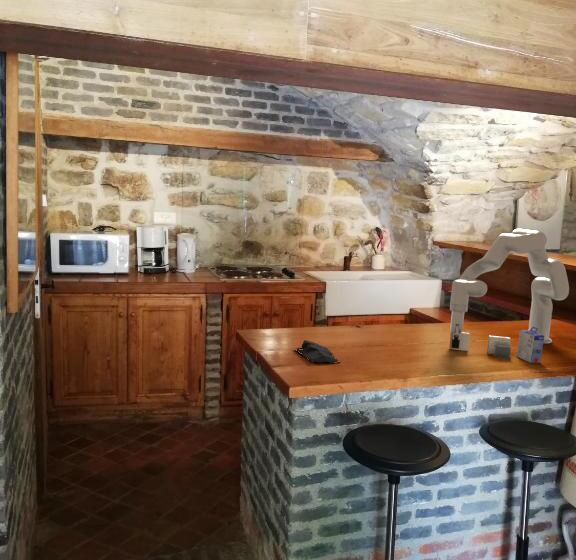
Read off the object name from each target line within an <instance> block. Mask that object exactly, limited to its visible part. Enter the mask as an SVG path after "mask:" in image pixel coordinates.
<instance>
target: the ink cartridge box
mask: <svg viewBox="0 0 576 560" xmlns="http://www.w3.org/2000/svg"><path fill="white" fill-rule="evenodd" d="M532 329H536V331H534V330H532ZM537 330H538V328H536V327H532V328H531V329H530V330H528V329H520V330H519V334H518V335H519V336H518V341H517V342H518V343H517V348H516V354H515V355H516V356H515V357H517V358H519V359H521V360H524V361H526V362H528V363H530V364H533V363H534V364H535V363H536V364H541V363H542V355H543V354H542V353H543V347H544V344H543V341H544V335H541V334H539V333H536V332H537Z"/></svg>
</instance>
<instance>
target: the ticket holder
mask: <svg viewBox="0 0 576 560" xmlns="http://www.w3.org/2000/svg"><path fill="white" fill-rule="evenodd" d="M511 340H512V339H511V337H507V336H498V335H497V336H496V335H488V338H487V349H486V354H489V355H494V357H495V358H500V359H501V358H502V359H509V360H510V359H511V350H512V348H511Z"/></svg>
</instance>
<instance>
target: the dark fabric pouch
mask: <svg viewBox="0 0 576 560" xmlns="http://www.w3.org/2000/svg"><path fill="white" fill-rule="evenodd" d="M301 347H302V348H301ZM301 347H297V348H296V349H297V351H299V352H300V353H302V355H303V356H302V357H304V358H305V357H306V358H308V359H309V360H310V361H309V360H308V359H307V360H308V361H309V362H311V361H312V362H311V363H313V362H337V361H340V360H338V358H337V359H335V358H334V356H335V355H334V354H333V352H332V351H331V350H330V349H328V348H327V346H323V345H320V344H319V343H317V342H313V341H310V340H306V339H305V340H303V342H302V344H301ZM299 349H303V350H299ZM297 351H296V352H297ZM332 355H334V356H332ZM306 358H305V359H306Z"/></svg>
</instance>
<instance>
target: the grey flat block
mask: <svg viewBox="0 0 576 560" xmlns="http://www.w3.org/2000/svg"><path fill="white" fill-rule="evenodd" d="M454 333H456V331H454ZM458 333H459V332H458ZM449 336H450V337H449V347H448V348H449V350H455V351H456V350H457V351H464V352H466V351H467V352H468V351H469V342H470V332H464V331H462V333H461V334H460V337H459V340H460V342H459V349H457V348H452V339H453V332H452V333H451V332H450V335H449Z"/></svg>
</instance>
